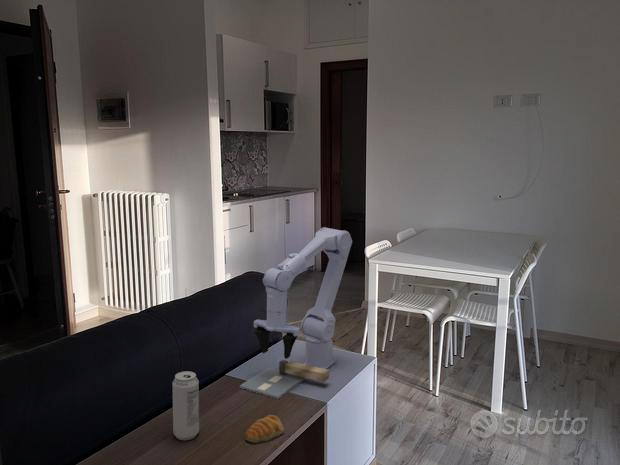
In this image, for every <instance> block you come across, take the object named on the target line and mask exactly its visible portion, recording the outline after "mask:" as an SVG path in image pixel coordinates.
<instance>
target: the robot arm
mask: <svg viewBox="0 0 620 465" xmlns="http://www.w3.org/2000/svg"><path fill="white" fill-rule="evenodd" d="M352 244H353V240H352V237H351V234H350V232H349V231H347V230H339V229H335V228H329V227H326V226H324V227H321V228H320V229H319V230H318V231H316V232H315V235H314V238H313V239H312V240H311V241H310V242H309V243H308V244H307V245H306V246H304V247H303V248H302V250H300V251H299V253H297V252H294V253H289V254H288V255H287V257H286V258H285V259H284V260H283V261H282V262H281V263H278V264H277V266H276V267H273V268H271V267H270V268H269V269H267V270H266V272H265V273H264V275H263V278H262V283H263V285H264V287H265V292H266V319H265V320H264V319H255V320H254V321H253V328H256V329H255V330H254V335H255V336H256V337H257V340H258V342H259V346H260V348H261V353H262V354H266V353H267V352H268V351H269V339H270V332H279V333H283V334H285V335H283V336H282V342H283V357H284V360H286V359H289V358H290V357H291V355H292V354H291V353H292V349H293V348H294V345H295V342H296V340H297V338H298V337H299V336H300V335H301V333H302V334H303V336H304V338H305V357H304V358H305V359H304V360H305V361H304V362H302V364H305V365H309V366H313V367H318V368H322V369H327V370H328V369H329V367H331V366H333V364H335V363H336V361H335V360H334V359H333V351H334V350H333V346H334V342H333V337H334V334H335V324H336V320H337V319H336V317H335V316H334V314H333V312H332V310H333V306H334V304H335V300H336V298H337V294H338V290H339V286H340V284H341V281H342V277H343V274H344V271H345V268H346V264H347V261H348V257H349V253H350V250H351V247H352ZM321 252H324V254H326V255H327V257H328V262H327V266H326V269H325V272H324V276H323V279H322V281H321V282H322V283H321V285H320V289H319V291H318V295H317V298H316V301H315V304H314V306H312V307H311V308H309V309H308V310H307V311H306V314H305V316H304V317H303V319H301V320H302V321H301V322H300V323H301V324H300V327H297V326H294V325H291V324H290V323H287V316H288V315H287V314H288V313H287V312H288V311H287V309H288V306H287V304H288V302H287V301H288V290H289V289H290V287H291V285H292V283H293V281H294V279H295V277H297V276H298V275H299V274H300V273H301V272H303V271H304V270H305V269H306V267H307V262H308V261H310V260H312V259H313V258H314V257H316V256H317V255H319V253H321Z"/></svg>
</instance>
